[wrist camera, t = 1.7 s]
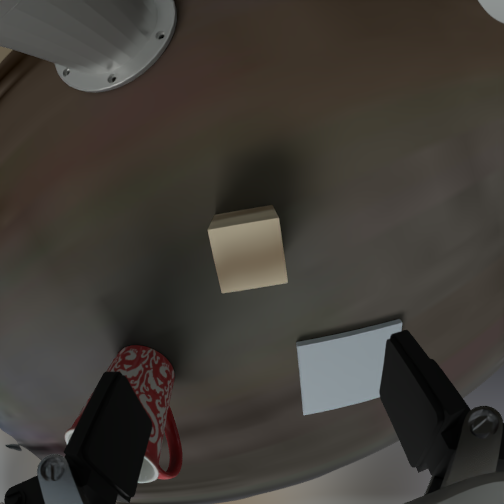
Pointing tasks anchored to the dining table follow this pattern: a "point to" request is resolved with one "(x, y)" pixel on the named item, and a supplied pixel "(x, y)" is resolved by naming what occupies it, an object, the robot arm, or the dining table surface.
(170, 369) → the mug
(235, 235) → the maple block
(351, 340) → the pad
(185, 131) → the dining table surface
